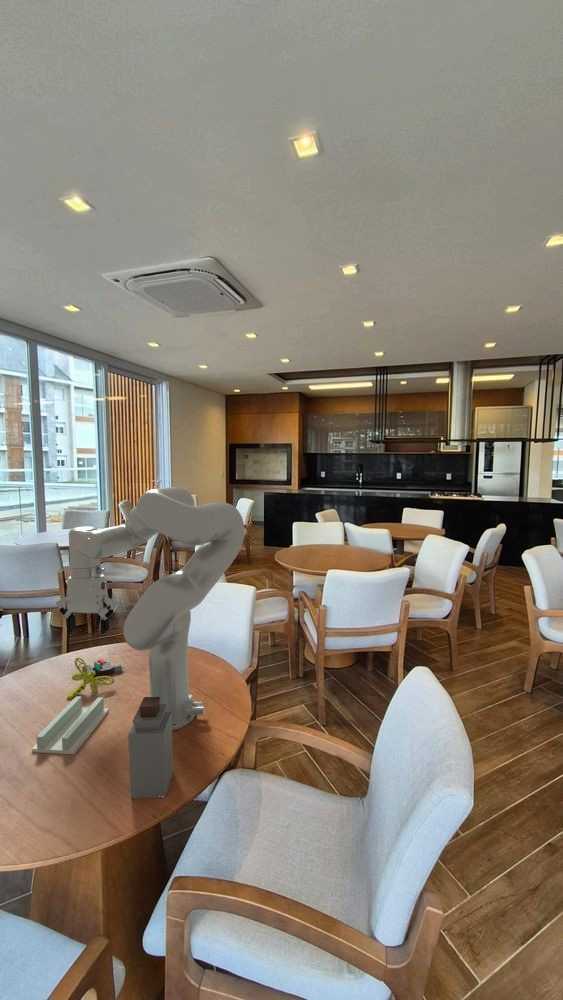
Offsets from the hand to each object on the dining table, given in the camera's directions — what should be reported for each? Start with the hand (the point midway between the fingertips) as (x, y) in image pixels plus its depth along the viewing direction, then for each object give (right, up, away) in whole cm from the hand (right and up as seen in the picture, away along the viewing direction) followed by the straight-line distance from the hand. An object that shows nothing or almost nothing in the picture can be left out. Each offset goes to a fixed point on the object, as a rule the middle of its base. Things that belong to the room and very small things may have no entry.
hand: (88, 631), depth 116 cm
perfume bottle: (+28, -22, -31) cm, 47 cm away
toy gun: (-2, -17, +15) cm, 23 cm away
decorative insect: (0, -18, +2) cm, 19 cm away
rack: (+3, -20, -14) cm, 25 cm away
